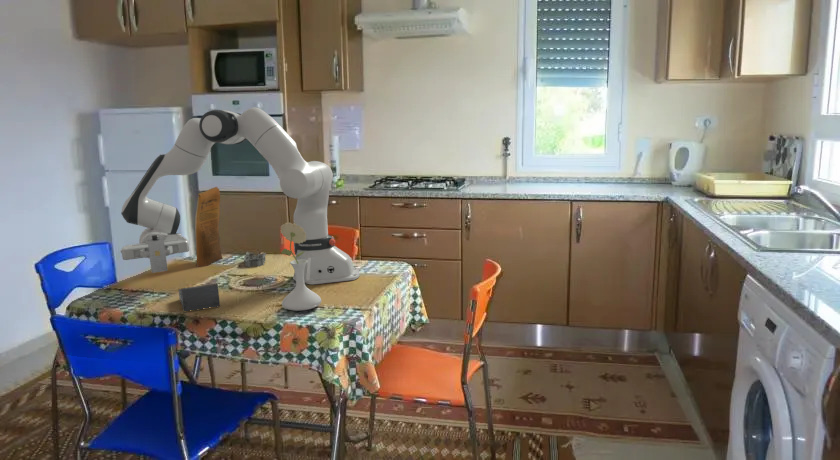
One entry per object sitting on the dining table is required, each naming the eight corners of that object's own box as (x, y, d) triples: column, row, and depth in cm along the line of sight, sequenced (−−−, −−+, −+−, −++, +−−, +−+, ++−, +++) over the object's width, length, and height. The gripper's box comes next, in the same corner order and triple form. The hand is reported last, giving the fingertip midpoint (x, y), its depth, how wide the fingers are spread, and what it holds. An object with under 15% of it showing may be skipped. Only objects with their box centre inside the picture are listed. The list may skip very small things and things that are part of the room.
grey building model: (247, 261, 242) (246, 250, 241) (267, 260, 242) (266, 249, 242) (242, 268, 231) (241, 257, 231) (263, 266, 232) (262, 256, 231)
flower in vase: (330, 306, 183) (324, 221, 178) (298, 316, 175) (291, 228, 170) (302, 298, 192) (296, 217, 187) (270, 308, 183) (263, 223, 178)
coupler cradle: (179, 299, 194) (177, 278, 193) (213, 294, 198) (211, 273, 197) (184, 312, 182) (181, 289, 181) (219, 306, 186) (217, 284, 185)
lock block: (151, 269, 201) (146, 235, 199) (166, 267, 203) (162, 233, 201) (152, 273, 196) (147, 238, 194) (167, 271, 198) (163, 236, 196)
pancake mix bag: (232, 256, 250) (225, 186, 244) (206, 268, 231) (198, 193, 226) (216, 255, 251) (209, 186, 245) (189, 268, 233) (181, 193, 227)
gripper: (119, 240, 205) (119, 248, 193) (185, 232, 214) (189, 239, 202) (121, 259, 207) (122, 268, 194) (187, 250, 215) (192, 258, 203)
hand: (157, 253), depth 198 cm, fingers closed on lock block, 5 cm apart
